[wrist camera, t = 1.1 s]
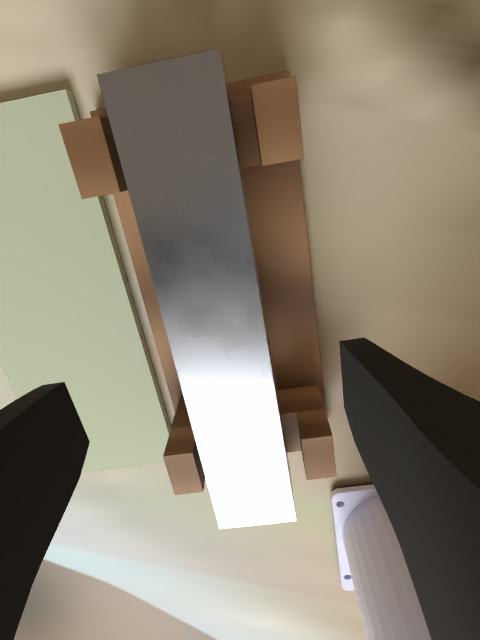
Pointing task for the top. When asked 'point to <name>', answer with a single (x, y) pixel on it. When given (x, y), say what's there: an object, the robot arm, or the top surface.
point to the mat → (70, 292)
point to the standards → (271, 255)
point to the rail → (205, 274)
